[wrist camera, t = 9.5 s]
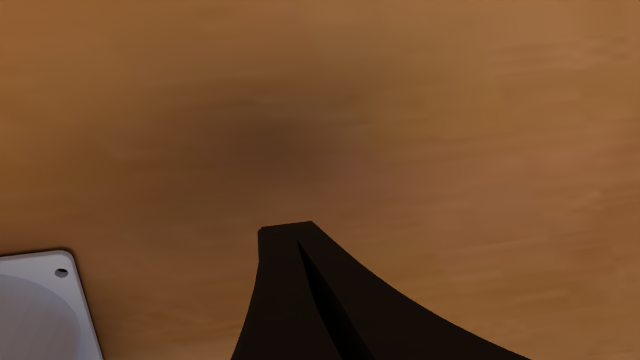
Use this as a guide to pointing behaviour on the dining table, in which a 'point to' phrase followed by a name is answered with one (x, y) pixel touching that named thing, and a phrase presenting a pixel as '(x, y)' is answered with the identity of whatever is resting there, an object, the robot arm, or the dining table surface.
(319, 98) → the dining table surface
